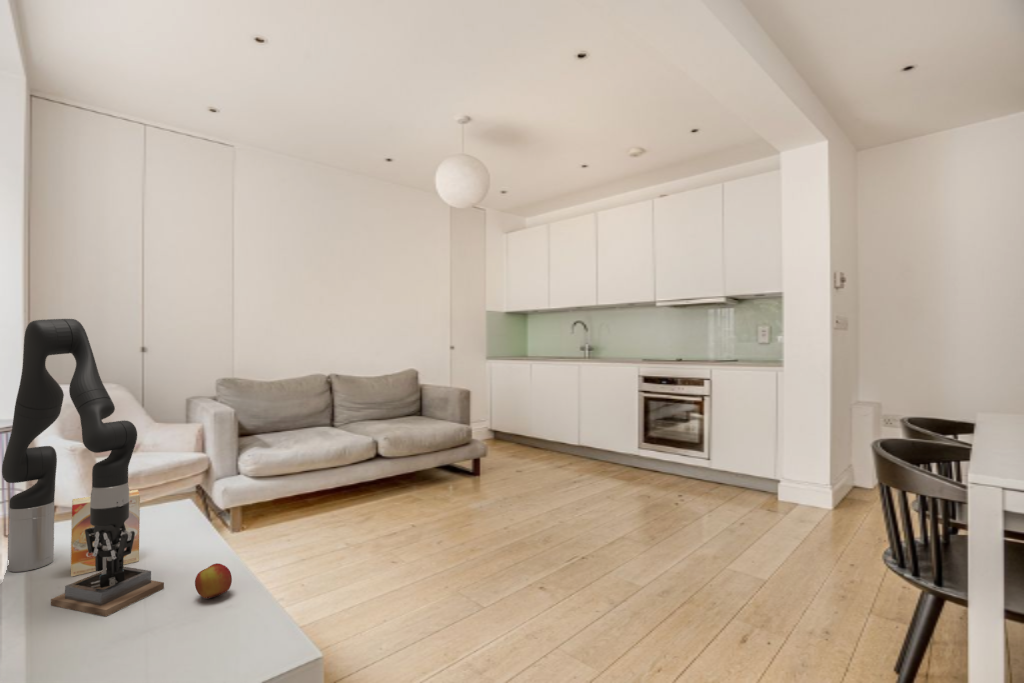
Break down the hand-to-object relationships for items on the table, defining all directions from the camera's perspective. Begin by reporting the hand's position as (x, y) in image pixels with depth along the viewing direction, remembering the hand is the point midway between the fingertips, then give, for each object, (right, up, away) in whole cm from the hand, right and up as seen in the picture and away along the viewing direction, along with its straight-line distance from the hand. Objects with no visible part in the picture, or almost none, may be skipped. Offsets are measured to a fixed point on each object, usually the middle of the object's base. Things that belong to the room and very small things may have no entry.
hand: (109, 571), depth 124 cm
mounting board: (0, -6, 0) cm, 6 cm away
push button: (0, -4, 0) cm, 4 cm away
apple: (+26, -6, 0) cm, 27 cm away
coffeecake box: (-15, -7, +18) cm, 25 cm away
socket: (0, -5, 0) cm, 5 cm away
